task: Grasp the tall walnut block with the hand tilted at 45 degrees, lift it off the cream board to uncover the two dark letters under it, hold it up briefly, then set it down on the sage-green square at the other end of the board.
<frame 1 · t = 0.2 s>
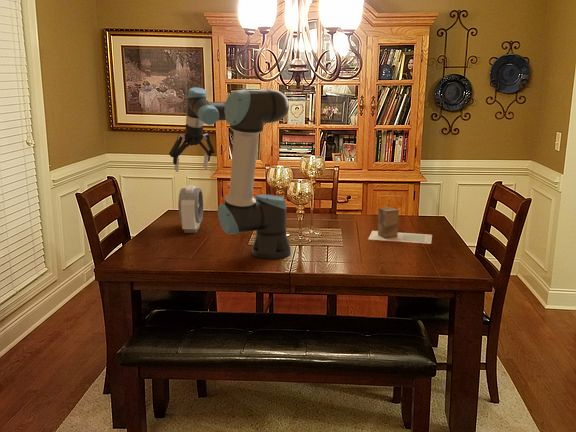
hand: (190, 169, 258), 28 cm above the table, tool tilted 20°, fingers open, 13 cm apart
alarm clock: (192, 230, 265), on the table
code board: (400, 238, 250), on the table
walnut block: (387, 236, 251), point 1 cm above the table, touching code board
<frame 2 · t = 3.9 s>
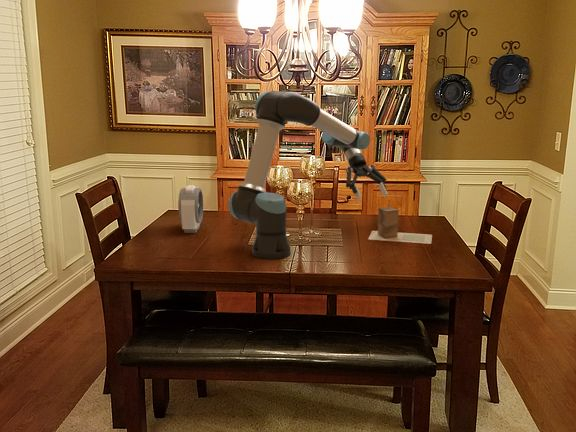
hand: (373, 197, 258), 15 cm above the table, tool tilted 45°, fingers open, 13 cm apart
nothing on the table moved.
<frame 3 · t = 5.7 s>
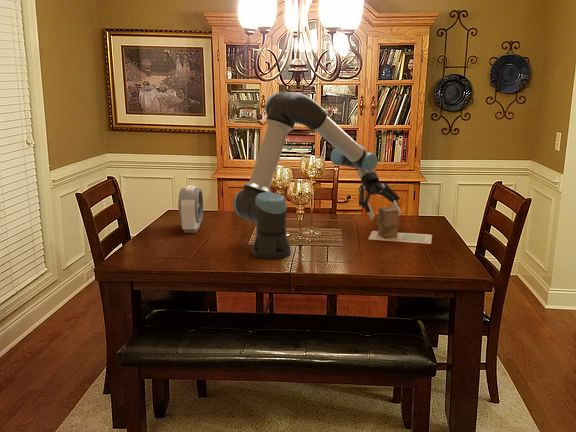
hand: (386, 216, 252), 9 cm above the table, tool tilted 45°, fingers open, 13 cm apart
nothing on the table moved.
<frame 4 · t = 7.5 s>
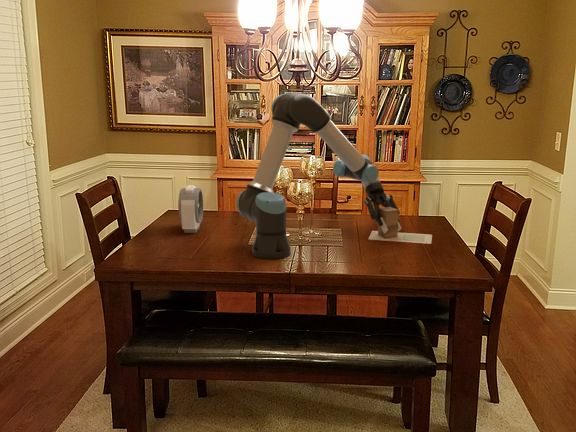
hand: (392, 230, 247), 4 cm above the table, tool tilted 45°, fingers closed on walnut block, 6 cm apart
walnut block: (387, 236, 251), point 1 cm above the table, touching code board, gripper
everything else where it was.
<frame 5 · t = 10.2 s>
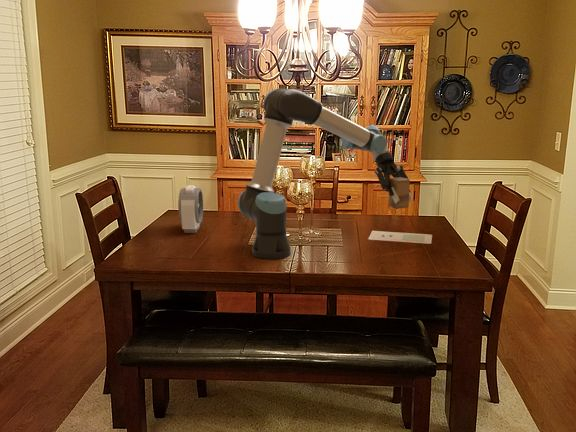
hand: (403, 200, 244), 17 cm above the table, tool tilted 45°, fingers closed on walnut block, 6 cm apart
walnut block: (398, 206, 248), point 14 cm above the table, touching gripper
everything else where it was.
when the fingers open (5 cm above the table, at t = 13.1 s): walnut block drops 1 cm, resting on code board.
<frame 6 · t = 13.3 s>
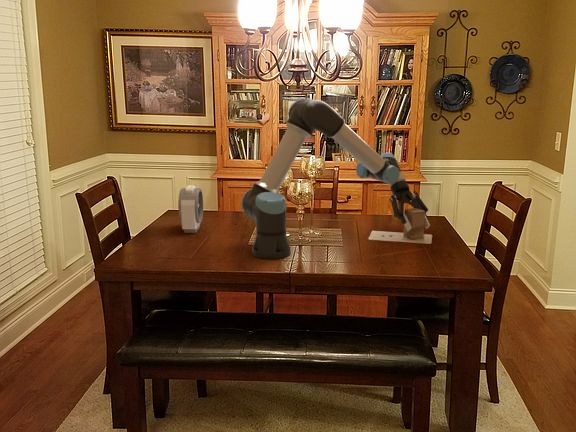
hand: (418, 228, 245), 6 cm above the table, tool tilted 45°, fingers open, 9 cm apart
walnut block: (413, 237, 249), point 1 cm above the table, touching code board
everything else where it was.
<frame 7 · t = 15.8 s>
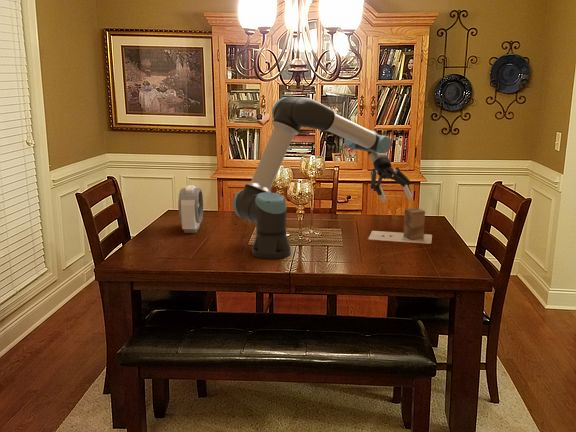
hand: (397, 199, 256), 15 cm above the table, tool tilted 45°, fingers open, 13 cm apart
nothing on the table moved.
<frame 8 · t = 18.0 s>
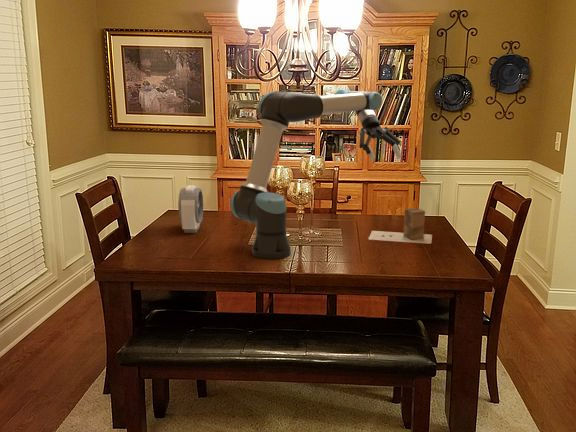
hand: (386, 158, 254), 33 cm above the table, tool tilted 45°, fingers open, 13 cm apart
nothing on the table moved.
at the end: walnut block inside the target area (0.1 cm from its centre), point 0.7 cm above the table; walnut block tilted 0°; walnut block moved 10.9 cm from its start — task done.
